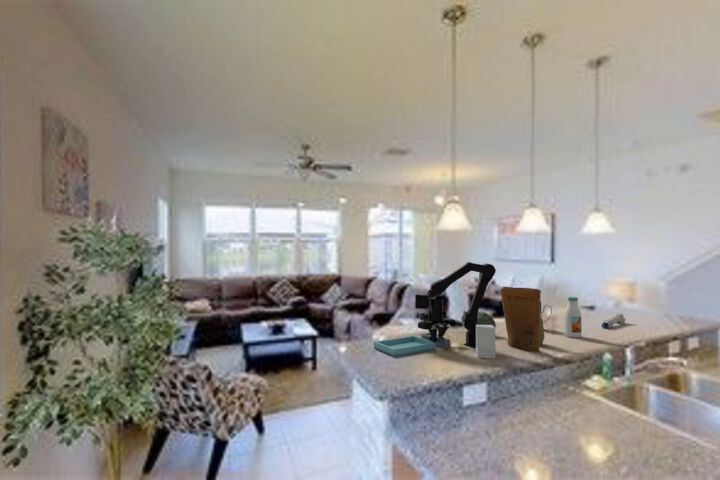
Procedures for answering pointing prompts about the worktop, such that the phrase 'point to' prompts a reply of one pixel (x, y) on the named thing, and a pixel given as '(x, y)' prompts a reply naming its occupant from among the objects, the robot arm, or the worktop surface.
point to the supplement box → (485, 341)
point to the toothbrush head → (614, 321)
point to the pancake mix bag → (522, 317)
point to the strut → (438, 340)
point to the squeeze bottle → (541, 331)
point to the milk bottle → (572, 319)
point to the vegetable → (485, 319)
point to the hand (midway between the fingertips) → (437, 342)
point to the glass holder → (543, 311)
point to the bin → (404, 345)
